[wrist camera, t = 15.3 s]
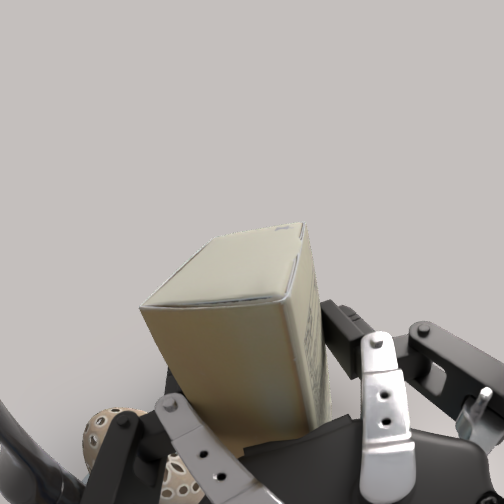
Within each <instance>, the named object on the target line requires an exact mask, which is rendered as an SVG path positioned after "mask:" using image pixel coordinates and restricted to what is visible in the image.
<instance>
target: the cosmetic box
mask: <svg viewBox="0 0 504 504" xmlns="http://www.w3.org/2000/svg"><path fill="white" fill-rule="evenodd" d="M139 309H140V311H141V314H142V316H143V318H144V320H145V322H146V324H147V326H148V328H149V330H150V332H151V334H152V337H153V339H154V341H155V343H156V344H157V346H158V348H159V350H160V352H161V354H162V356H163V358H164V359H165V361H166V363H167V365H168V367H169V369H170V371H171V372H172V374H173V376H174V378H175V379H176V381H177V383H178V384H179V386H180V388H181V389H182V391H183V393H184V394H185V396H186V398H187V399H188V401H189V403H190V404H191V406H192V407H193V409H194V410H195V412H196V413H197V414H198V416H199V417H200V418H201V420H202V421H203V422H204V423H206V424H207V425H208V426H209V428H210V429H211V430H212V431H213V432H214V434H215V435H216V436H217V437H218V438H219V439H220V441H221V442H222V443H223V444H224V445H225V446H226V447H227V449H228V450H229V451H230V452H231V453H232V454H233V455H234V456H235V457H236V458H239V457H241V456H243V455H244V451H243V448H245V447H249V446H254V445H258V444H262V443H265V442H269V441H281V440H291V439H298V438H301V437H303V436H304V435H306V434H308V433H309V432H311V431H313V430H314V429H316V428H318V427H319V426H321V425H322V424H324V423H327V422H329V421H331V412H332V411H331V409H332V408H331V407H332V405H331V396H330V383H329V374H328V365H327V354H326V347H325V338H324V330H323V323H322V315H321V307H320V300H319V294H318V287H317V282H316V275H315V269H314V263H313V257H312V252H311V246H310V241H309V236H308V230H307V225H306V222H297V223H290V224H283V225H278V226H272V227H267V228H260V229H255V230H249V231H243V232H237V233H232V234H228V235H224V236H217V237H214V238H212V239H211V240H210V241H209V242H208V243H206V244H205V245H204V246H203V247H201V249H199V250H198V251H197V252H196V253H195V254H194V255H193V256H191V257H190V258H189V259H188V260H187V261H186V262H185V263H184V264H183V265H182V266H181V267H180V268H178V269H177V270H176V271H175V272H174V273H173V274H172V275H171V276H170V277H169V278H168V279H167V280H166V281H165V282H164V283H163V284H161V286H160V287H159V288H158V289H157V290H156V291H155V292H154V293H153V294H152V295H150V296H149V297H148V298H147V299H146V300H145V301H144V302H143V303H142V304H141V305H140V306H139Z"/></svg>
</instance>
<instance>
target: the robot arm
mask: <svg viewBox="0 0 504 504" xmlns="http://www.w3.org/2000/svg"><path fill="white" fill-rule="evenodd" d="M320 307H321V315H322V323H323V330H324V338H325V344H326V345H327V347H328V348H329V350H330V351H331V352H332V354H333V355H334V357H335V358H336V359H337V361H338V362H339V364H340V365H341V367H342V368H343V369H344V371H345V372H346V373H347V375H348V376H349V378H350V379H351V380H353V379H355V378H357V377H359V379H360V380H361V414H360V419H354V420H352V419H351V417H350V416H349V414H347V415H344V416H342V417H340V418H337V419H335V420H332V421H329V422H327V423H324V424H322V425H321V426H319V427H318V428H316V429H314V430H313V431H311V432H309V433H308V434H306V435H304V436H303V437H301V438H298V439H291V440H281V441H269V442H265V443H262V444H258V445H254V446H249V447H245V448H243V451H244V455H243V456H241V457H239V458H236V457H235V456H234V455H233V454H232V453H231V452H230V451H229V450H228V449H227V447H226V446H225V445H224V444H223V443H222V442H221V441H220V439H219V438H218V437H217V436H216V435H215V434H214V432H213V431H212V430H211V429H210V428H209V426H208V425H207V424H206V423H204V422H203V421H202V420H201V418H200V417H199V416H198V414H197V413H196V412H195V410H194V409H193V407H192V406H191V404H190V403H189V401H188V399H187V398H186V396H185V394H184V393H183V391H182V389H181V388H180V386H179V384H178V383H177V381H176V379H175V378H174V376H173V374H172V372H171V371H170V369H169V367H168V371H167V378H166V386H165V394H164V396H163V397H161V398H160V399H159V400H158V401H157V402H156V405H155V410H153V411H152V412H149V413H147V414H144V415H141V416H138V415H137V414H136V413H135V412H133V411H129V410H128V411H122V412H120V413H118V414H117V415H115V416H114V417H113V419H112V420H111V423H110V425H109V427H108V430H107V432H106V435H105V437H104V440H103V442H102V445H101V447H100V450H99V452H98V455H97V457H96V460H95V463H94V465H93V468H92V471H91V473H90V476H89V479H88V482H87V485H85V484H84V483H83V482H81V481H80V480H79V479H77V478H76V477H75V476H73V475H72V474H71V473H70V472H68V471H67V470H66V469H65V468H63V467H62V466H61V465H60V464H59V463H58V462H56V461H55V460H54V459H53V458H52V457H51V456H50V455H48V454H47V453H46V452H45V451H44V450H43V449H42V448H41V447H40V446H39V445H38V444H37V443H36V442H35V441H34V440H33V439H32V438H31V437H30V436H29V435H28V434H27V433H26V432H25V430H24V429H23V428H22V427H21V426H20V425H19V424H18V422H17V421H16V420H15V419H14V418H13V416H12V415H11V414H10V412H9V411H8V410H7V408H6V407H5V406H4V404H3V403H2V402H1V400H0V444H1V450H0V493H1V494H2V495H3V497H4V498H5V499H6V500H7V501H8V502H10V503H11V504H159V500H160V495H161V489H162V484H163V478H164V473H165V468H166V463H167V458H168V455H170V454H173V453H175V452H177V454H178V455H179V457H180V458H181V460H182V462H183V463H184V465H185V466H186V468H187V469H188V471H189V472H190V474H191V475H192V477H193V478H194V479H195V481H196V482H197V484H198V485H199V486H200V488H201V489H202V491H203V492H204V493H205V495H204V497H203V498H202V499H201V501H200V502H199V503H198V504H504V498H502V497H501V496H499V495H498V494H497V493H496V491H495V490H494V488H493V485H492V482H491V478H490V473H489V464H488V458H487V455H488V454H489V453H490V452H491V451H492V449H493V448H494V447H495V446H497V445H499V444H500V443H501V442H502V441H503V440H504V364H503V363H502V362H500V361H498V360H497V359H495V358H493V357H491V356H490V355H488V354H486V353H484V352H483V351H481V350H479V349H478V348H476V347H474V346H473V345H471V344H469V343H467V342H466V341H464V340H462V339H460V338H459V337H457V336H455V335H453V334H451V333H450V332H448V331H446V330H444V329H442V328H441V327H439V326H437V325H435V324H433V323H431V322H428V321H420V322H416V323H414V324H413V325H412V326H411V327H410V329H409V334H407V335H403V336H398V337H391V335H389V334H388V333H386V332H383V331H374V330H373V329H372V328H371V327H370V326H369V325H368V324H367V323H366V322H365V321H364V320H363V319H362V318H361V317H360V316H359V315H357V314H356V312H355V311H354V310H352V309H351V308H349V307H347V306H344V305H342V306H339V307H338V306H337V305H336V304H335V303H334V302H333V301H332V300H327V301H324V302H321V303H320ZM433 362H434V363H436V364H437V365H439V366H441V367H442V368H443V369H444V370H445V372H446V373H445V372H444V371H442V370H441V369H439V368H438V367H437V366H435V365H434V364H432V363H433ZM404 381H406V382H407V383H409V384H410V385H411V386H412V387H414V388H415V389H416V390H417V391H418V392H420V393H421V394H422V395H423V396H425V397H426V398H427V399H428V400H430V401H431V402H432V403H433V404H435V405H436V406H437V407H438V408H439V409H441V410H442V411H443V412H445V413H446V414H447V415H448V416H449V417H451V418H452V419H453V420H454V421H456V425H455V426H456V430H457V432H458V433H459V438H454V437H449V436H444V435H439V434H434V433H429V432H425V431H421V430H416V429H412V428H410V419H409V411H408V404H407V397H406V391H405V384H404Z"/></svg>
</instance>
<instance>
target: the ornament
mask: <svg viewBox="0 0 504 504" xmlns="http://www.w3.org/2000/svg"><path fill="white" fill-rule="evenodd" d="M111 409H112V410H111ZM110 410H111V411H110ZM128 410H129V411H133V412H135V413H136V414H137V415H138V416H141V415H144V414H147V413H148V412H145V411H142V410H137V409H133V408H116V407H115V408H110V409H105V410H103V411H101V412H99V413H97V414H96V415H94V416H93V417H92V418H91V420H90V421H89V422H88V423H87V425H86V428H85V431H84V434H83V441H82V442H83V443H82V446H83V455H84V459H85V463H86V466H87V464H88V466H89V468H88V466H87V469H88V471H89V474H90V473H91V471H92V468H93V465H94V463H95V460H96V457H97V455H98V452H99V450H100V447H101V445H102V442H103V440H104V437H105V435H106V432H107V430H108V427H109V425H110V423H111V420H112V419H113V417H114V416H115V415H117V414H118V413H120V412H122V411H128ZM100 419H102V420H101V422H100V423H99V424H98V425H97V422H98V421H99V420H100ZM93 436H95V438H96V439H97V442H96V441H95V440H94V439H93ZM90 438H91V443H90ZM204 495H205V493H204V492H203V491H202V489H201V488H200V486H199V485H198V484H197V482H196V481H195V479H194V478H193V477H192V475H191V474H190V472H189V471H188V469H187V468H186V466H185V465H184V463H183V462H182V460H181V458H180V457H179V455H177V454H175V453H173V454H170V455H168V458H167V463H166V468H165V473H164V478H163V484H162V489H161V495H160V500H159V504H198V503H199V502H200V501H201V499H202V498H203V497H204Z"/></svg>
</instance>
